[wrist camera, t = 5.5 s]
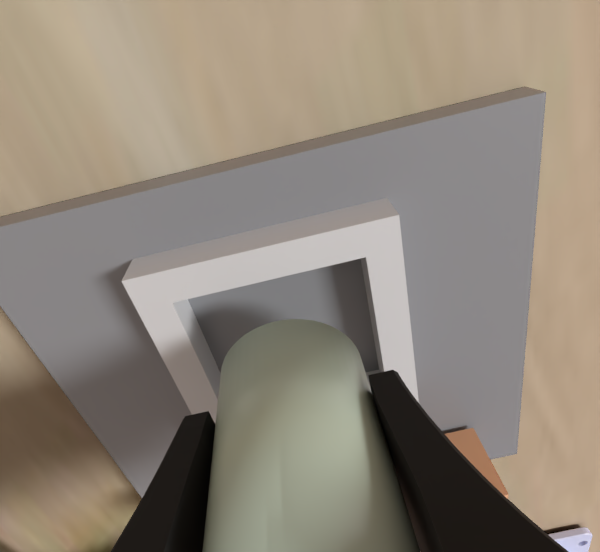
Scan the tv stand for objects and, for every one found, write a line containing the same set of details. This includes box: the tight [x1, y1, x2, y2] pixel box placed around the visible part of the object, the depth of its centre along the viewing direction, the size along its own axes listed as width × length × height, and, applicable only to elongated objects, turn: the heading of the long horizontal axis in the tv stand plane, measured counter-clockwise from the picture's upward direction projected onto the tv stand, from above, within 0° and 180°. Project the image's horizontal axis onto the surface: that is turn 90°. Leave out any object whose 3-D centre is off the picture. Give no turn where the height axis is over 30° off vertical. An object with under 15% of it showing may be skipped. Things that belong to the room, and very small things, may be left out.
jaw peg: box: [202, 319, 420, 552], centre depth 9 cm, size 4×4×6 cm
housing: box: [0, 87, 546, 498], centre depth 15 cm, size 15×16×2 cm
